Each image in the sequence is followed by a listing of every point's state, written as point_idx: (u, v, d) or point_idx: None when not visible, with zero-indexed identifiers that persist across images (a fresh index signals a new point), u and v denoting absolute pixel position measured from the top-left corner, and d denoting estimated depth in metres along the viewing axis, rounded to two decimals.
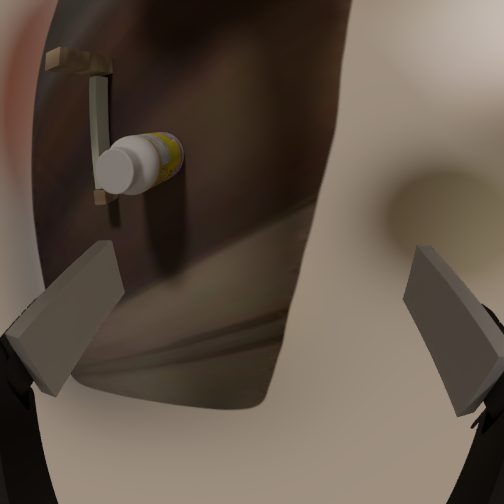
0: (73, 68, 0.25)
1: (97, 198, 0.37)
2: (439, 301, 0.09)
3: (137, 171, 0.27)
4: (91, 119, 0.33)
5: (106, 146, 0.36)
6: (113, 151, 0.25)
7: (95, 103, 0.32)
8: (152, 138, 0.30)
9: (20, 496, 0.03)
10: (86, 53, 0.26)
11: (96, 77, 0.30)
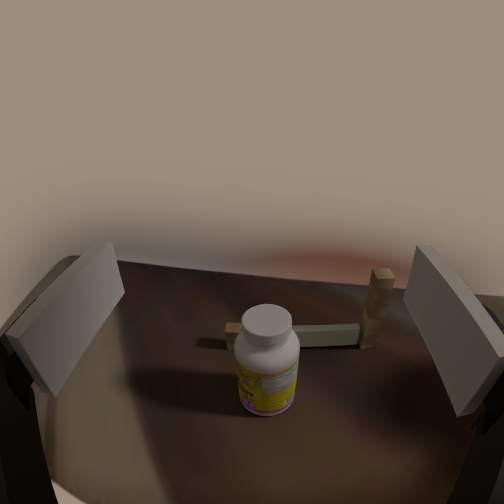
0: (371, 299, 0.36)
1: (233, 325, 0.40)
2: (439, 301, 0.09)
3: (262, 342, 0.25)
4: (316, 326, 0.39)
5: None
6: (288, 319, 0.27)
7: (331, 330, 0.39)
8: (293, 372, 0.28)
9: (19, 495, 0.03)
10: (384, 312, 0.36)
11: (358, 329, 0.38)
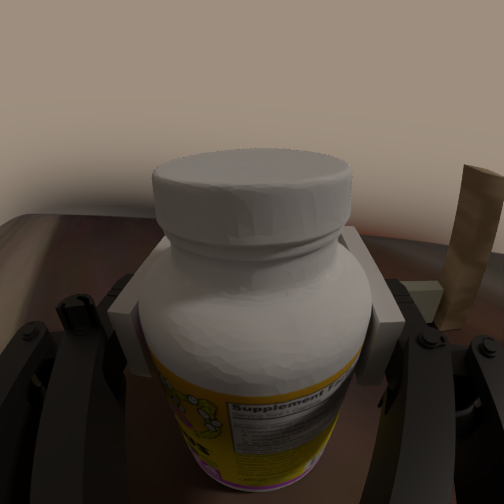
0: (469, 222, 0.15)
1: None
2: None
3: (225, 230, 0.05)
4: None
5: None
6: (337, 162, 0.06)
7: None
8: (345, 388, 0.07)
9: (95, 503, 0.03)
10: (488, 253, 0.15)
11: (440, 291, 0.18)
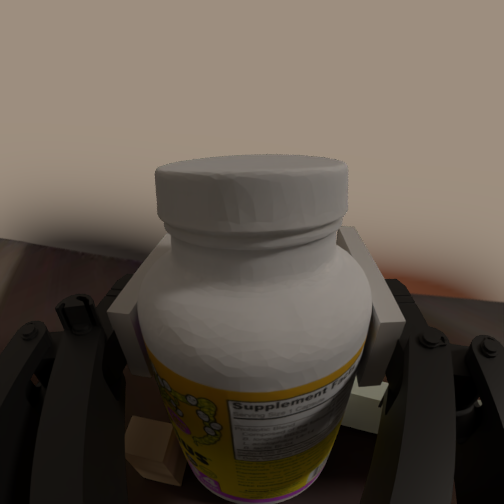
0: None
1: (146, 429, 0.10)
2: None
3: (226, 218, 0.05)
4: None
5: None
6: (333, 161, 0.07)
7: None
8: (349, 389, 0.07)
9: (95, 503, 0.03)
10: None
11: None
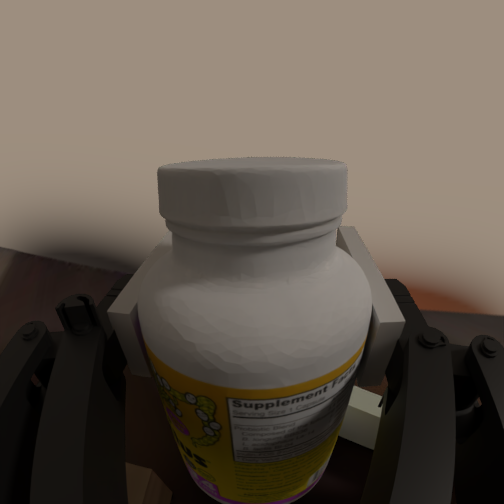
0: None
1: None
2: None
3: (228, 213, 0.05)
4: None
5: None
6: (332, 161, 0.07)
7: None
8: (349, 390, 0.07)
9: (95, 503, 0.03)
10: None
11: None
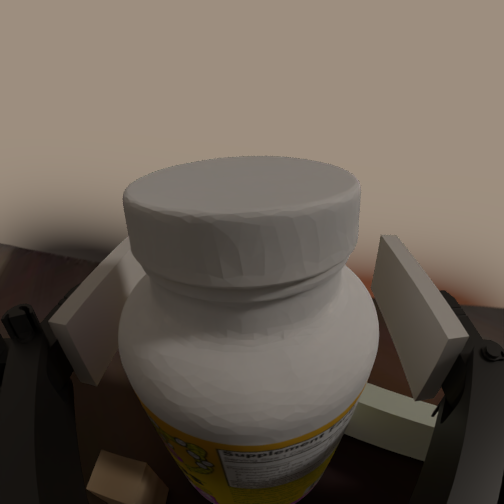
0: None
1: (116, 466, 0.08)
2: (399, 286, 0.10)
3: (205, 269, 0.04)
4: (429, 409, 0.10)
5: None
6: (342, 175, 0.05)
7: None
8: (348, 422, 0.06)
9: (50, 497, 0.03)
10: None
11: None
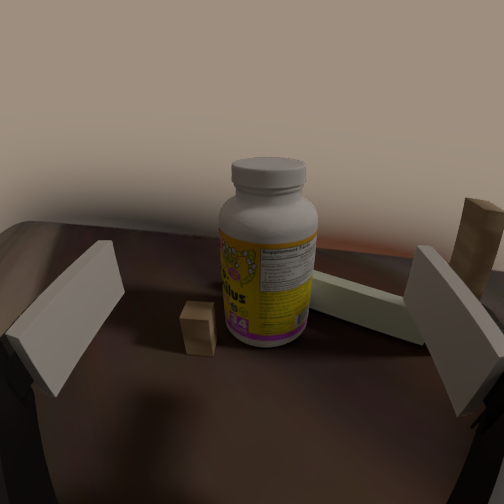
0: (467, 255, 0.16)
1: (197, 306, 0.20)
2: (439, 301, 0.09)
3: (263, 183, 0.16)
4: (364, 287, 0.22)
5: None
6: (300, 163, 0.18)
7: (387, 300, 0.21)
8: (309, 258, 0.19)
9: (20, 496, 0.03)
10: (484, 283, 0.16)
11: None
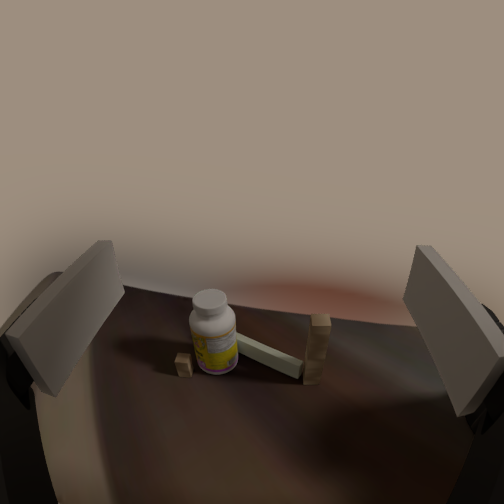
0: (309, 342, 0.37)
1: (182, 355, 0.42)
2: (439, 301, 0.09)
3: (204, 313, 0.38)
4: (266, 347, 0.44)
5: (241, 349, 0.46)
6: (223, 299, 0.39)
7: (276, 355, 0.42)
8: (230, 339, 0.40)
9: (19, 495, 0.03)
10: (324, 355, 0.37)
11: (298, 366, 0.40)
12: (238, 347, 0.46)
